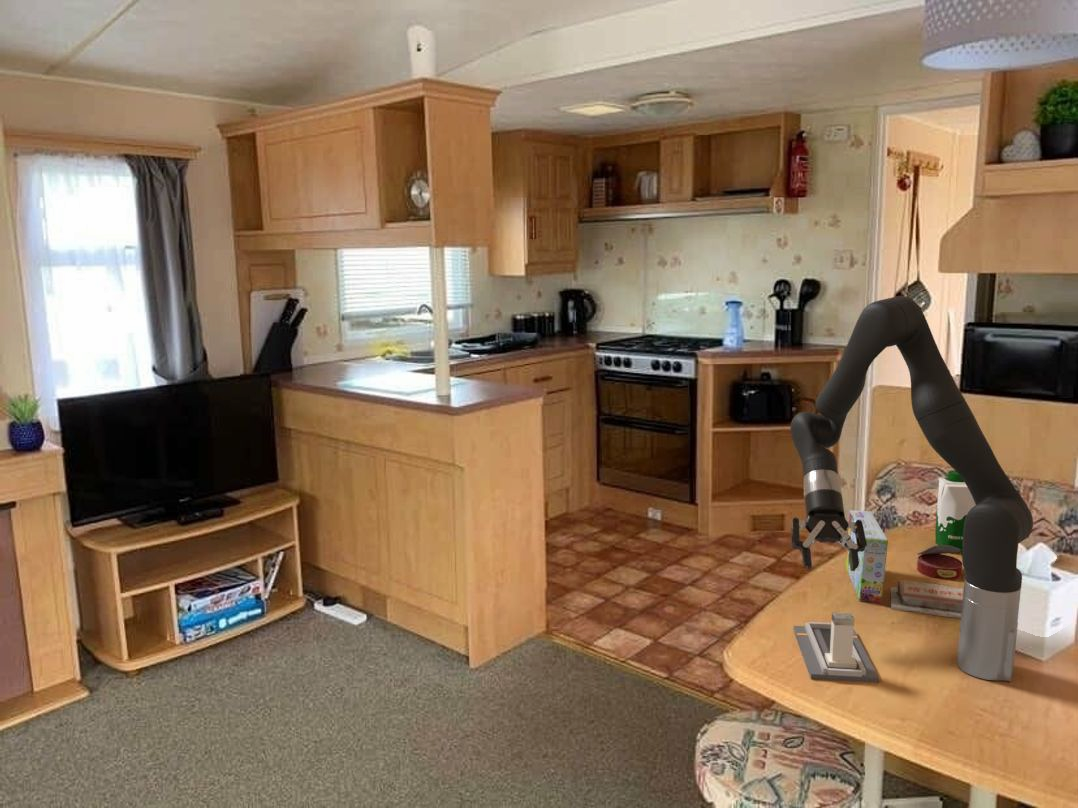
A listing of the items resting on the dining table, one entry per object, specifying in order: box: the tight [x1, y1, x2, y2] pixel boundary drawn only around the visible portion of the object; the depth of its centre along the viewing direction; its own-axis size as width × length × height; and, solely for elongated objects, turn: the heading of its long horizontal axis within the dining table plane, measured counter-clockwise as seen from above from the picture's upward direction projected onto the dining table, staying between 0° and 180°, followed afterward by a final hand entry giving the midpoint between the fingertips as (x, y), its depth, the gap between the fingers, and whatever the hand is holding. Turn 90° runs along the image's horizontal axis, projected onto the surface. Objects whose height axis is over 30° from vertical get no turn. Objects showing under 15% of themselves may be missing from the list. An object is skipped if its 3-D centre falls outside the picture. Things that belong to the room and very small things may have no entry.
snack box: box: [845, 509, 889, 603], centre depth 195 cm, size 21×6×15 cm, turn 168°
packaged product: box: [890, 579, 964, 619], centre depth 184 cm, size 18×5×10 cm
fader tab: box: [825, 612, 857, 669], centre depth 156 cm, size 5×4×10 cm
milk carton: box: [934, 470, 976, 554], centre depth 216 cm, size 9×9×20 cm
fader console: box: [792, 621, 880, 684], centre depth 163 cm, size 12×20×2 cm, turn 172°
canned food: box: [916, 545, 963, 581], centre depth 202 cm, size 11×10×10 cm
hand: (831, 568), depth 165 cm, fingers open, 8 cm apart
